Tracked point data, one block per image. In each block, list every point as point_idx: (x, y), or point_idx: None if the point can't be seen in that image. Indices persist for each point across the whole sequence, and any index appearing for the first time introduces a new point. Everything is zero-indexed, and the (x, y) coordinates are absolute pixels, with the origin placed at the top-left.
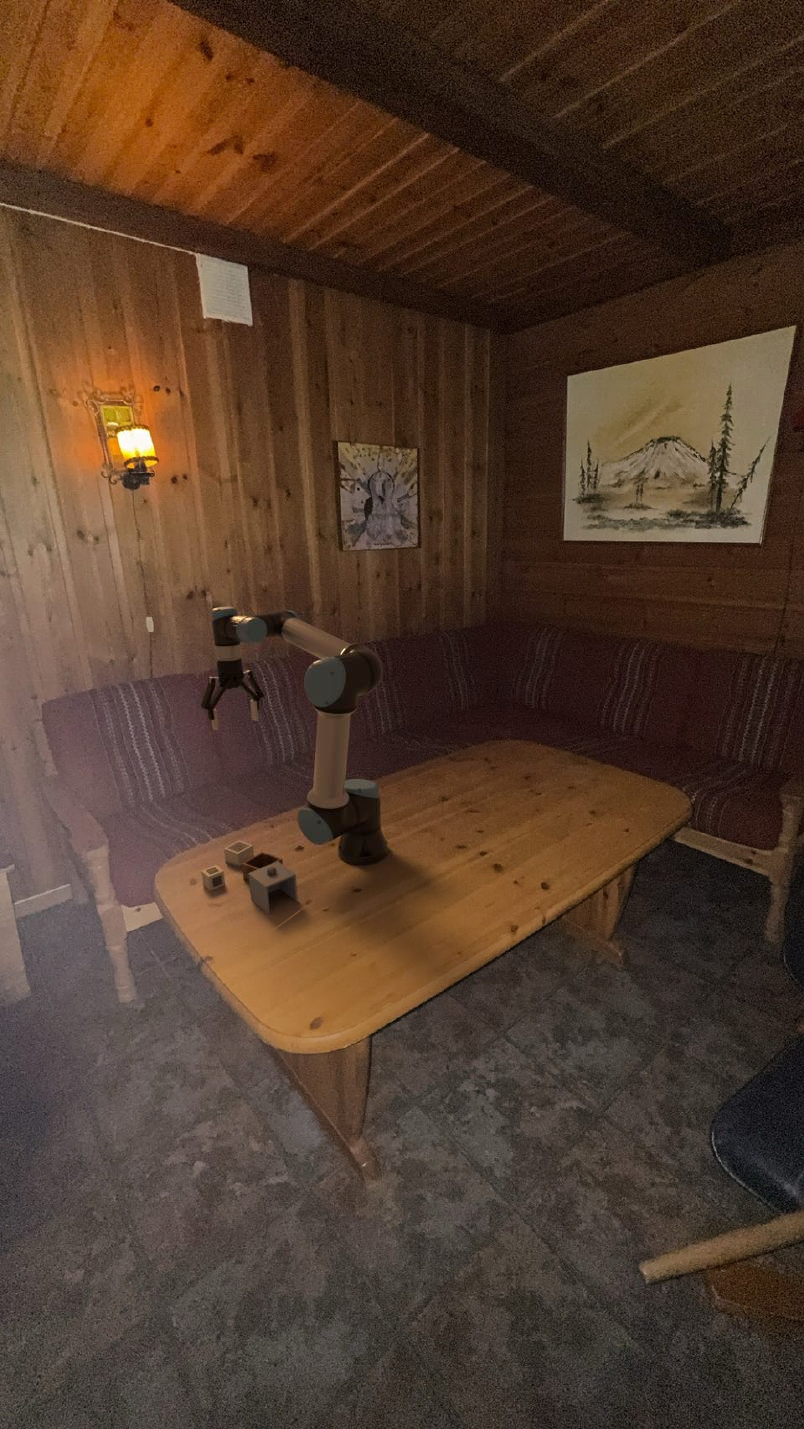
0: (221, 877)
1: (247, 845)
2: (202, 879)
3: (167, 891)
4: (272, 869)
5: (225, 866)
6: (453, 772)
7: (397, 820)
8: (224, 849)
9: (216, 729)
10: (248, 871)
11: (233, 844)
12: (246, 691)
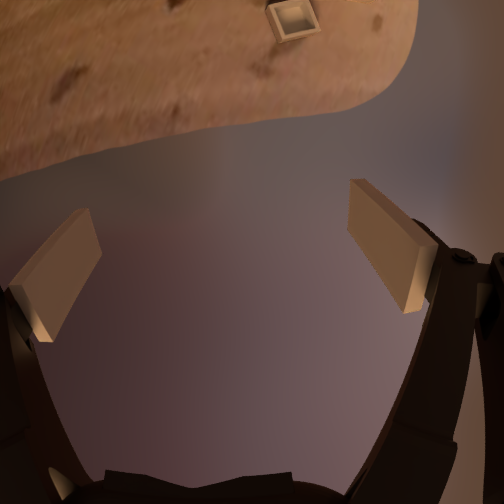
0: None
1: (276, 14)
2: (373, 1)
3: (413, 31)
4: None
5: None
6: None
7: (3, 32)
8: (320, 30)
9: (366, 180)
10: None
11: (299, 32)
12: (32, 391)
